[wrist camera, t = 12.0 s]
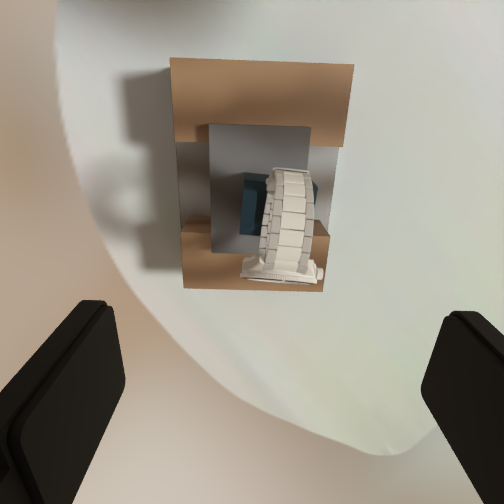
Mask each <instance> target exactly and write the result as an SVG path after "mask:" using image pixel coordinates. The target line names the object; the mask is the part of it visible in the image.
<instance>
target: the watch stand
mask: <svg viewBox="0 0 504 504" xmlns="http://www.w3.org/2000/svg"><path fill="white" fill-rule="evenodd" d="M353 71H354V64H327V63H301V62H275V61H248V60H222V59H196V58H170V74H171V90H172V106H173V122H174V139H175V141H176V153H177V169H178V186H179V203H180V219H181V232H180V236H181V252H182V269H183V285H184V288H192V289H230V290H268V291H307V292H323V285H324V278H325V270H326V263H327V256H328V249H329V242H330V235H329V234H328V232H327V231H328V224H329V216H330V209H331V201H332V194H333V187H334V179H335V172H336V164H337V157H338V150H339V147H343V142H344V135H345V128H346V120H347V113H348V106H349V99H350V92H351V85H352V78H353ZM274 167H279V168H290V169H299V170H306V171H309V175H310V177H311V180H312V181H313V182H314V183H315V184H316V185H317V186H318V192H317V197H316V202H315V208H314V219H313V221H314V223H313V236H312V244H311V251H310V256H309V259H310V260H314V263H315V264H316V267H317V268H323V278H322V280H317V284H310V285H301V284H287V283H275V282H265V281H256V280H249V279H245V278H242V277H240V273H242V263H243V260H244V258H245V257H248V256H251V255H259V245H260V238H261V237H260V236H251V235H241V234H239V231H240V220H241V210H242V199H243V189H244V179H245V172H248V173H258V174H267V175H270V172H271V170H272V169H273V168H274ZM309 237H310V236H309ZM263 238H265V237H263Z"/></svg>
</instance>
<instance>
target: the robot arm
mask: <svg viewBox="0 0 504 504" xmlns="http://www.w3.org/2000/svg"><path fill="white" fill-rule="evenodd" d="M124 387H125V373H124V367H123V361H122V356H121V350H120V344H119V339H118V333H117V328H116V322H115V316H114V311H113V308H112V307H111V306H107V303H106V302H105V301H101V300H82V301H81V302H79V304H78V305H77V306H76V307H75V308H74V309H73V310H72V311H71V313H70V314H69V315H68V316H67V317H66V318H65V319H64V320H63V322H62V323H61V324H60V325H59V326H58V327H57V328H56V329H55V331H54V332H53V333H52V334H51V335H50V336H49V337H48V339H47V340H46V341H45V342H44V343H43V344H42V345H41V346H40V348H39V349H38V350H37V351H36V352H35V353H34V355H33V356H32V357H31V358H30V359H29V360H28V361H27V362H26V363H25V365H24V366H23V367H22V368H21V369H20V370H19V372H18V373H17V374H16V375H15V376H14V377H13V378H12V379H11V380H10V382H9V383H8V384H7V385H6V386H5V387H4V388H3V390H2V391H1V392H0V504H72V503H73V501H74V498H75V496H76V494H77V492H78V489H79V487H80V485H81V483H82V481H83V479H84V476H85V474H86V472H87V470H88V467H89V465H90V463H91V461H92V459H93V457H94V454H95V452H96V450H97V448H98V446H99V443H100V441H101V439H102V437H103V435H104V432H105V430H106V428H107V426H108V424H109V421H110V419H111V417H112V415H113V412H114V410H115V408H116V406H117V404H118V402H119V399H120V397H121V395H122V393H123V390H124ZM421 394H422V397H423V399H424V401H425V403H426V405H427V406H428V408H429V410H430V412H431V413H432V415H433V417H434V419H435V420H436V422H437V424H438V425H439V427H440V429H441V431H442V432H443V434H444V436H445V438H446V439H447V441H448V443H449V444H450V446H451V448H452V450H453V451H454V453H455V455H456V456H457V458H458V460H459V461H460V463H461V465H462V467H463V469H464V470H465V472H466V474H467V475H468V477H469V479H470V480H471V482H472V484H473V486H474V488H475V489H476V491H477V493H478V494H479V496H480V498H481V500H482V501H483V503H484V504H504V335H503V334H502V333H501V332H500V331H498V330H497V329H496V328H495V327H494V326H493V325H492V324H491V323H490V322H489V321H488V320H486V319H485V318H484V317H483V316H482V315H481V314H480V313H478V312H475V311H453V312H451V313H450V315H449V316H446V317H445V318H444V320H443V323H442V326H441V329H440V331H439V334H438V337H437V340H436V343H435V346H434V349H433V352H432V355H431V358H430V361H429V364H428V367H427V369H426V372H425V375H424V378H423V381H422V384H421Z"/></svg>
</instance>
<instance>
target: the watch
mask: <svg viewBox="0 0 504 504" xmlns="http://www.w3.org/2000/svg"><path fill="white" fill-rule="evenodd" d="M317 192H318V186H317V185H316V184H315V183H314V182H313V181H312V180H311V177H310V175H309V171H306V170H299V169H290V168H279V167H274V168H273V169H272V170H271V172H270V175H267V174H258V173H248V172H245V179H244V189H243V199H242V210H241V220H240V231H239V234H241V235H251V236H260V237H261V238H260V245H259V255H251V256H248V257H245V258H244V260H243V263H242V273H240V277H242V278H245V279H249V280H256V281H265V282H275V283H287V284H301V285H310V284H317V280H322V278H323V268H317V267H316V264H315V263H314V260H310V259H309V256H310V251H311V244H312V236H313V223H314V221H313V219H314V208H315V202H316V197H317ZM309 236H310V237H309ZM263 237H265V238H263Z"/></svg>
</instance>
